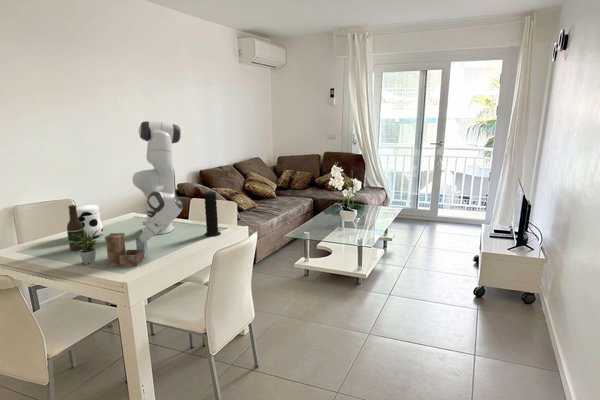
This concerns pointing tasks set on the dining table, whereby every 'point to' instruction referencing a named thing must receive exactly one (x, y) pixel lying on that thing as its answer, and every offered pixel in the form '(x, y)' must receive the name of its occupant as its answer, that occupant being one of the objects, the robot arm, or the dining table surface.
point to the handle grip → (211, 214)
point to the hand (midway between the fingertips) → (141, 242)
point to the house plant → (86, 247)
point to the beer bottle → (74, 228)
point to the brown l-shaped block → (121, 251)
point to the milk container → (90, 219)
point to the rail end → (142, 246)
